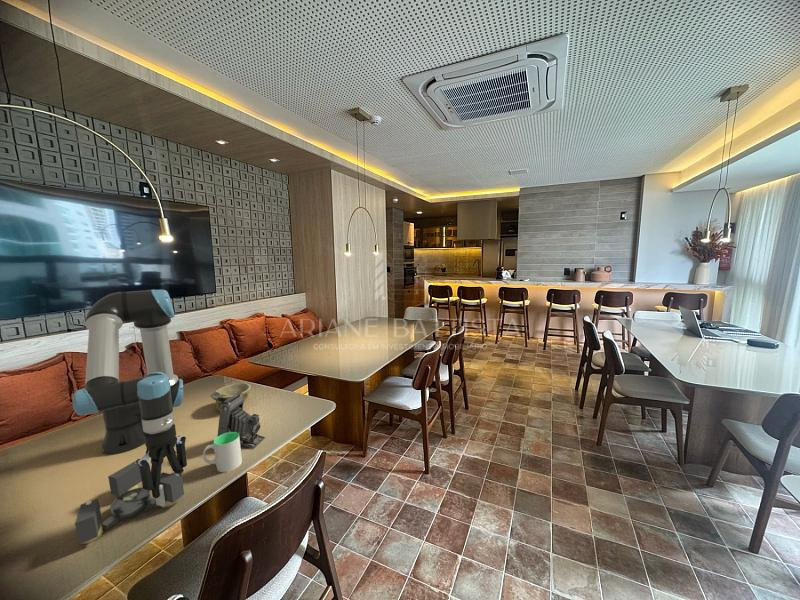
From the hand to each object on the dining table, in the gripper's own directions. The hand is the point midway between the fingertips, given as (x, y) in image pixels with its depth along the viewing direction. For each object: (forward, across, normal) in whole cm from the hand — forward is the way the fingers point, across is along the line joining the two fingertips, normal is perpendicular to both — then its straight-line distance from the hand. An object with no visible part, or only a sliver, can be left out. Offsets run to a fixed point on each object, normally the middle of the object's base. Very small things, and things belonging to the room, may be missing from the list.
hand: (169, 498), depth 97 cm
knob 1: (+1, -15, +9) cm, 17 cm away
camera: (+1, +33, +3) cm, 33 cm away
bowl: (+1, +57, +32) cm, 65 cm away
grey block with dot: (+1, 0, +17) cm, 17 cm away
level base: (+1, -6, +9) cm, 11 cm away
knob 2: (+1, 0, 0) cm, 1 cm away
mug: (+1, +18, -2) cm, 18 cm away
